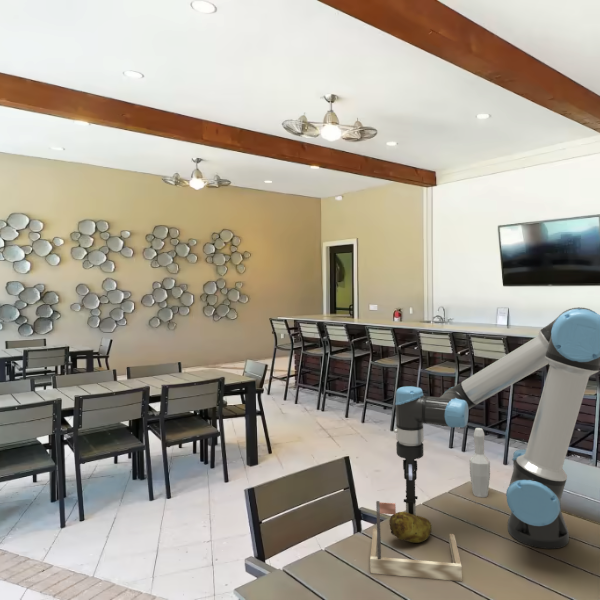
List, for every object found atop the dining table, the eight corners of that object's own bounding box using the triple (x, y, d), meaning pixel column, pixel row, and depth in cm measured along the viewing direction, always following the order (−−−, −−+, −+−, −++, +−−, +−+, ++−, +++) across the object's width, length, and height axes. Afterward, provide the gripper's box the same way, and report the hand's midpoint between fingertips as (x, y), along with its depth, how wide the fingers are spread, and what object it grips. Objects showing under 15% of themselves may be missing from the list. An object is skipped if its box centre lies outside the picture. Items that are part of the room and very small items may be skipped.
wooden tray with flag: (454, 547, 127) (452, 482, 127) (462, 581, 112) (460, 507, 112) (373, 540, 131) (371, 478, 131) (370, 573, 116) (368, 502, 116)
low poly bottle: (470, 497, 157) (469, 431, 157) (470, 489, 163) (468, 425, 163) (491, 499, 155) (489, 432, 155) (489, 491, 161) (488, 426, 161)
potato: (440, 546, 128) (440, 517, 127) (394, 551, 126) (393, 521, 126) (427, 529, 136) (427, 502, 136) (384, 534, 134) (383, 506, 134)
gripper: (396, 434, 143) (397, 511, 143) (395, 448, 130) (397, 533, 131) (422, 435, 141) (423, 513, 142) (424, 450, 129) (425, 536, 129)
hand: (411, 523), depth 136 cm, fingers closed
